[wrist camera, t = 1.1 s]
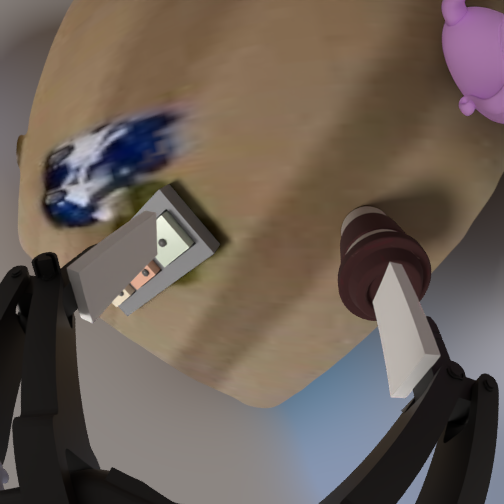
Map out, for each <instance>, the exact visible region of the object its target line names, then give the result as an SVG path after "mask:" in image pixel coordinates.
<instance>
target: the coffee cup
mask: <svg viewBox="0 0 504 504" xmlns="http://www.w3.org/2000/svg"><path fill="white" fill-rule="evenodd" d="M340 253H341V265H340V268H339V272H338V288H339V294H340V297H341V300H342V302H343V303H344V305H345V306H346V308H347V309H348V310H349V311H350V312H352V313H353V314H355V315H356V316H358V317H360V318H362V319H366V320H371V321H377V319H376V314H375V310H374V306H373V300H374V298H375V296H376V293H377V291H378V289H379V286H380V284H381V282H382V279H383V277H384V275H385V272H386V270H387V267H388V265H389V262H393V263H398V264H402V266H403V268H404V270H405V272H406V274H407V276H408V278H409V280H410V282H411V285H412V287H413V289H414V291H415V293H416V295H417V298H418V300H419V302H420V300H421V299H422V298H423V296H424V295H425V293H426V291H427V289H428V286H429V283H430V279H431V265H430V261H429V258H428V256H427V254H426V252H425V251H424V249H423V248H422V247H421V245H420V244H419V243H418V242H417V241H416V240H415V239H413V238H412V237H410V236H408V235H407V234H406V233H405V232H404V231H403V230H402V229H401V228H400V227H399V226H398V225H397V224H396V223H395V222H394V221H393V220H392V219H391V218H390V217H388V216H387V215H386V214H385V213H384V212H383V211H381V210H380V209H378V208H375V207H371V206H364V207H359V208H357V209H355V210H353V211H352V212H350V213H349V214H348V215H347V217H346V218H345V220H344V222H343V224H342V228H341V241H340Z"/></svg>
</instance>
